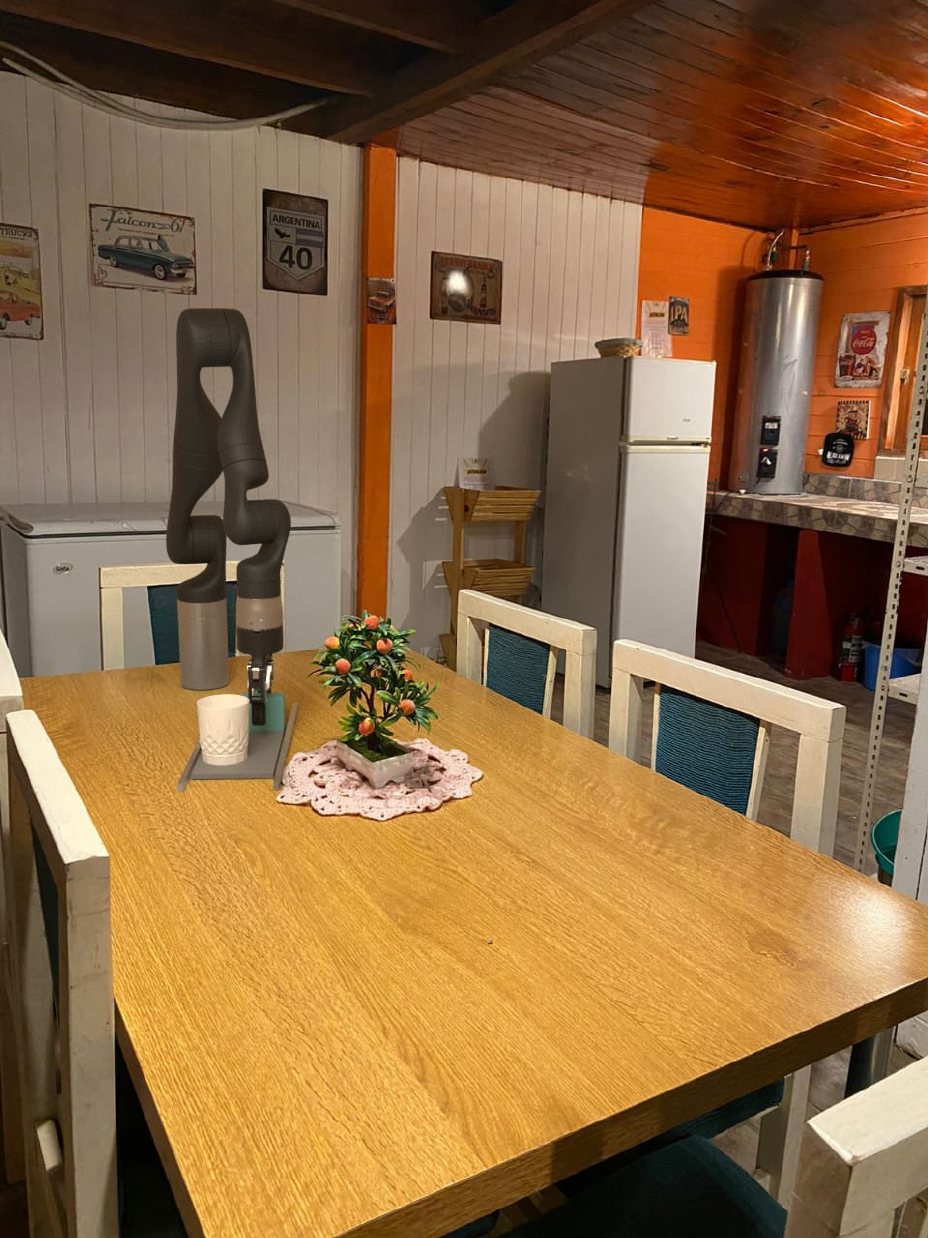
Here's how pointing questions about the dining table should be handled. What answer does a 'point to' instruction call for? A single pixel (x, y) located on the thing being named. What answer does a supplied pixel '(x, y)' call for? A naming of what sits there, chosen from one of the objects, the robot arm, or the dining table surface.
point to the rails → (280, 766)
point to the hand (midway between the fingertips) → (261, 716)
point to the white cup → (223, 728)
